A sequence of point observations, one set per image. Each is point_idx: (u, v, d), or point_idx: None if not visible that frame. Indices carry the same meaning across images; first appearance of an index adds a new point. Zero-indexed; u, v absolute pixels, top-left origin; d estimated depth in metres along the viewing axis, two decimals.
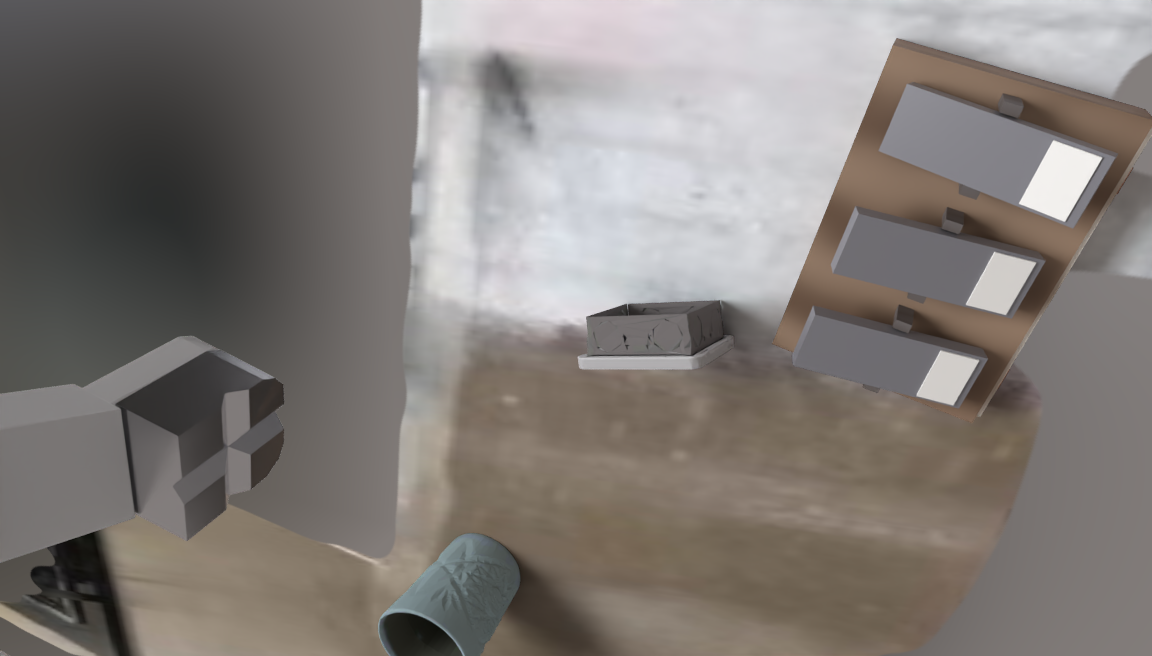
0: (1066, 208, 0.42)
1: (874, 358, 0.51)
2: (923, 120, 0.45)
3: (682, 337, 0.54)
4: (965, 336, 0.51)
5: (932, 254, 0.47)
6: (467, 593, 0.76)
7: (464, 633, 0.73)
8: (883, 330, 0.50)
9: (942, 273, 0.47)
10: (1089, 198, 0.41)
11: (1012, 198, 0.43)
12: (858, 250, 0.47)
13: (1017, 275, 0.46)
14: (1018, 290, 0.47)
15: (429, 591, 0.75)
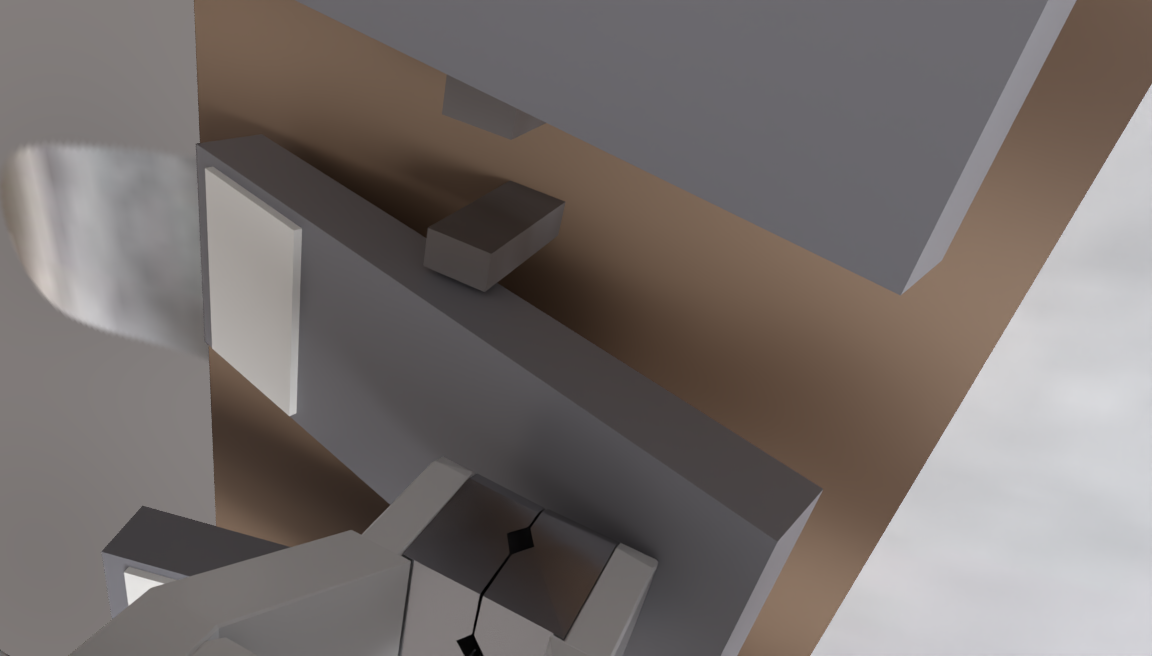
0: None
1: None
2: None
3: None
4: None
5: (425, 466, 0.12)
6: None
7: None
8: None
9: (384, 379, 0.12)
10: (114, 612, 0.15)
11: None
12: (663, 603, 0.10)
13: (229, 318, 0.14)
14: (216, 256, 0.14)
15: None
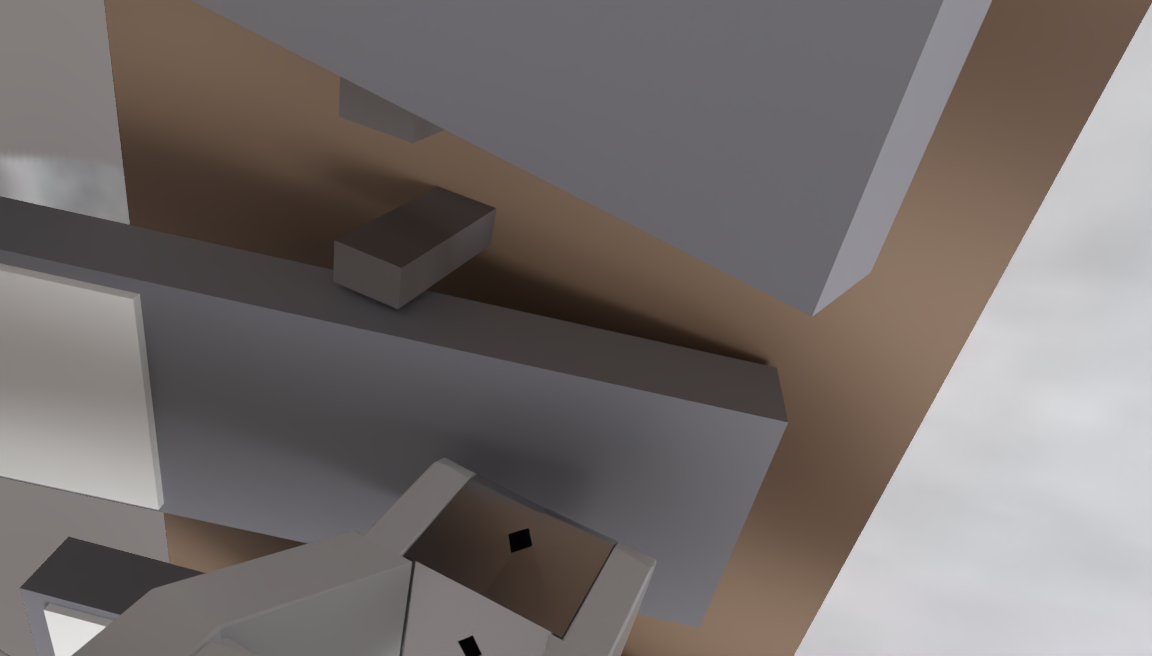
0: (64, 637, 0.14)
1: None
2: None
3: None
4: None
5: (379, 494, 0.11)
6: None
7: None
8: None
9: (307, 424, 0.11)
10: (40, 650, 0.14)
11: None
12: (681, 512, 0.11)
13: (21, 430, 0.11)
14: None
15: None
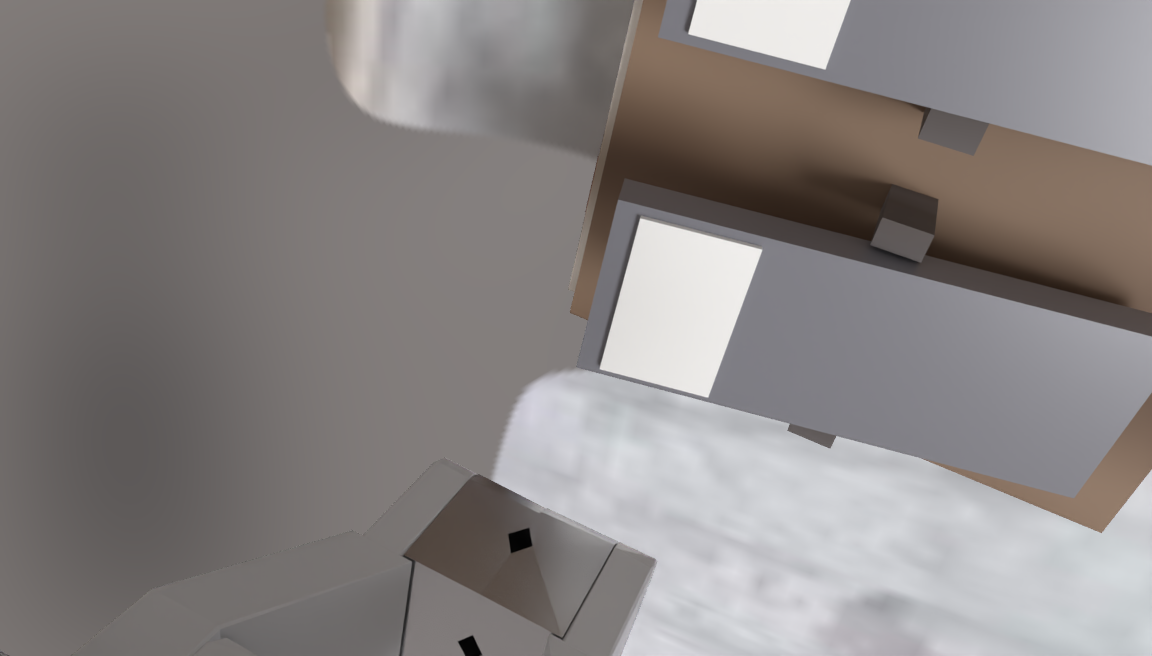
0: (644, 251, 0.16)
1: None
2: (1033, 423, 0.16)
3: None
4: None
5: (1042, 48, 0.13)
6: None
7: None
8: None
9: None
10: (601, 276, 0.16)
11: (781, 256, 0.15)
12: None
13: None
14: None
15: None
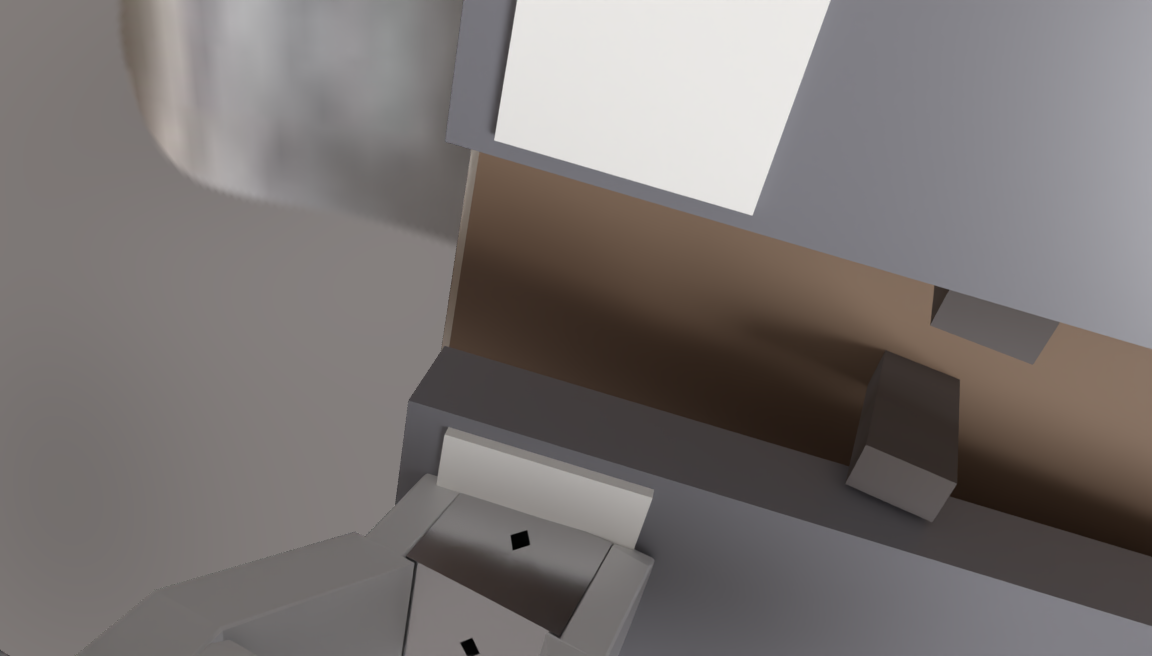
0: (458, 483, 0.09)
1: None
2: None
3: None
4: None
5: None
6: None
7: None
8: None
9: (1125, 32, 0.06)
10: None
11: (687, 506, 0.09)
12: None
13: (578, 44, 0.07)
14: None
15: None
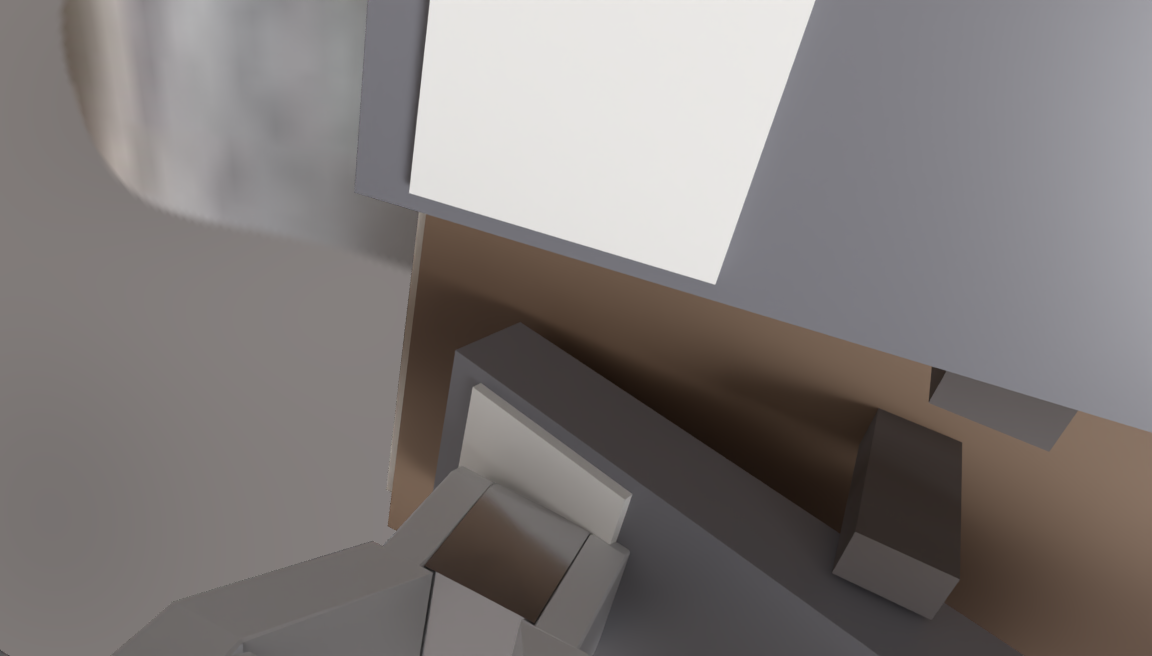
0: (480, 438, 0.10)
1: None
2: None
3: None
4: None
5: None
6: None
7: None
8: None
9: None
10: (443, 453, 0.11)
11: (660, 522, 0.09)
12: None
13: (503, 82, 0.05)
14: None
15: None
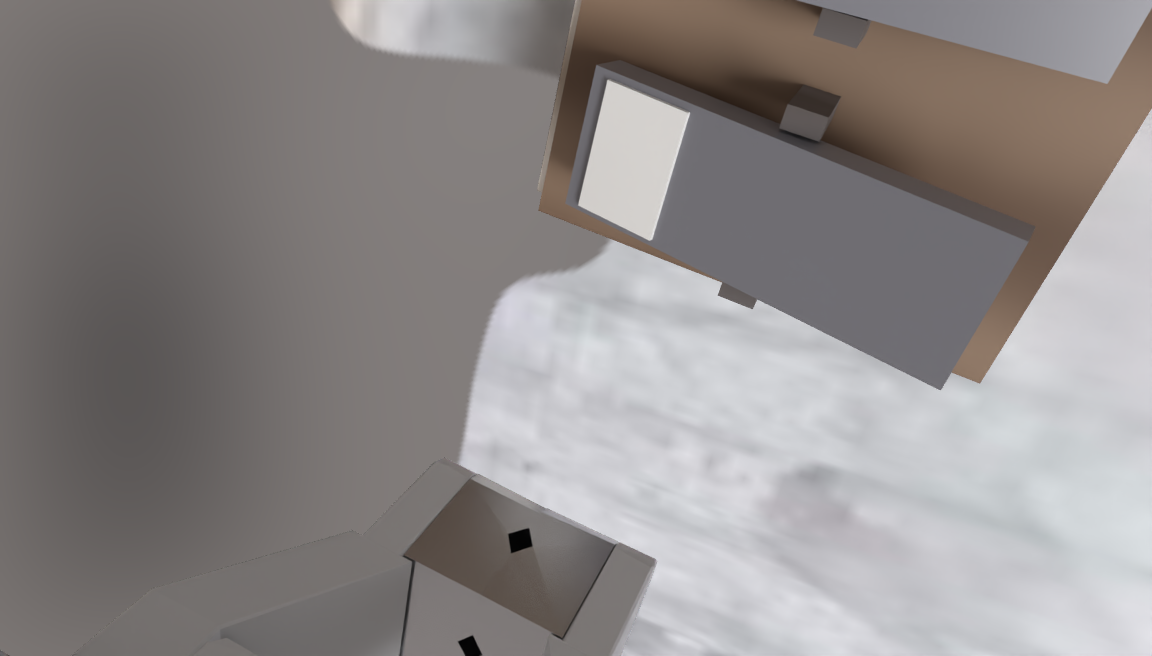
0: (610, 108, 0.21)
1: None
2: (901, 305, 0.18)
3: None
4: None
5: None
6: None
7: None
8: None
9: None
10: (584, 128, 0.22)
11: (703, 121, 0.20)
12: None
13: None
14: None
15: None
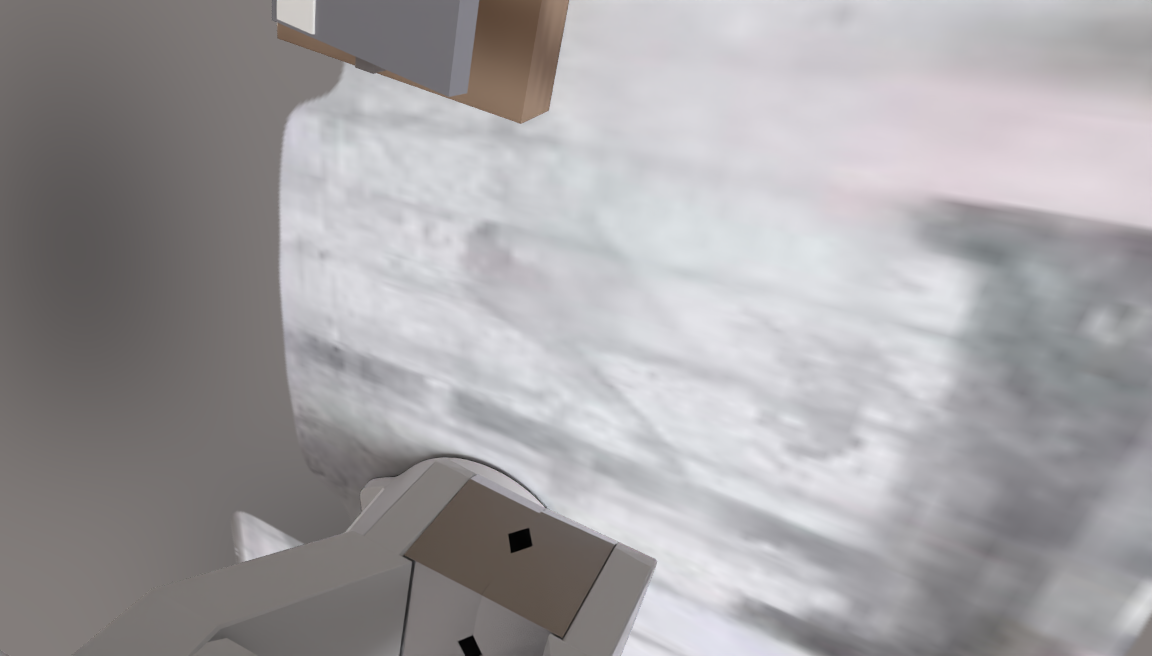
0: None
1: None
2: (422, 47, 0.33)
3: None
4: None
5: None
6: None
7: None
8: None
9: None
10: None
11: None
12: None
13: None
14: None
15: None
